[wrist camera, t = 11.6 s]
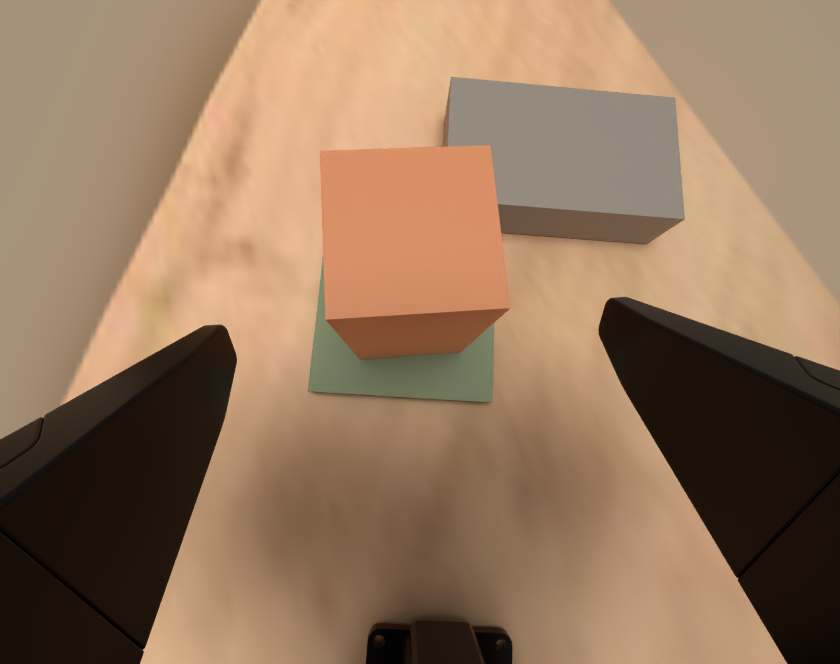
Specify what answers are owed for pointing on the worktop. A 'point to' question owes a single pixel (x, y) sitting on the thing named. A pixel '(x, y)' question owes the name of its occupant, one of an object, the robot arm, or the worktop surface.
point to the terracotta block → (411, 249)
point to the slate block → (573, 158)
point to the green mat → (400, 368)
